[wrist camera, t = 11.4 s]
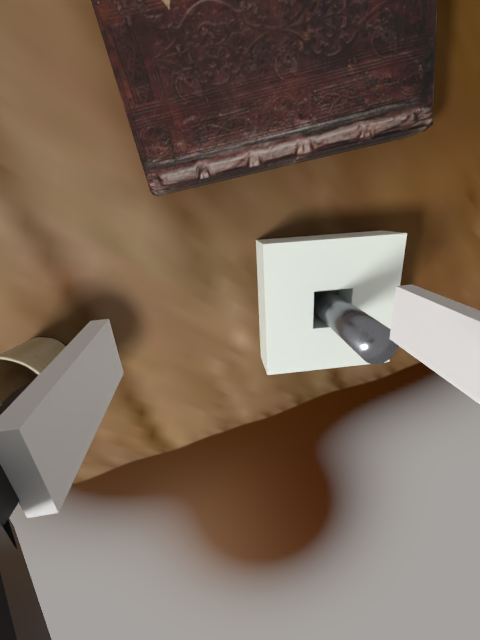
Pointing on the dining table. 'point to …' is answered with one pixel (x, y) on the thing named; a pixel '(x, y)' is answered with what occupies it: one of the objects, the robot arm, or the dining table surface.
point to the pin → (355, 327)
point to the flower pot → (26, 363)
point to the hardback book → (266, 80)
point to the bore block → (321, 275)
